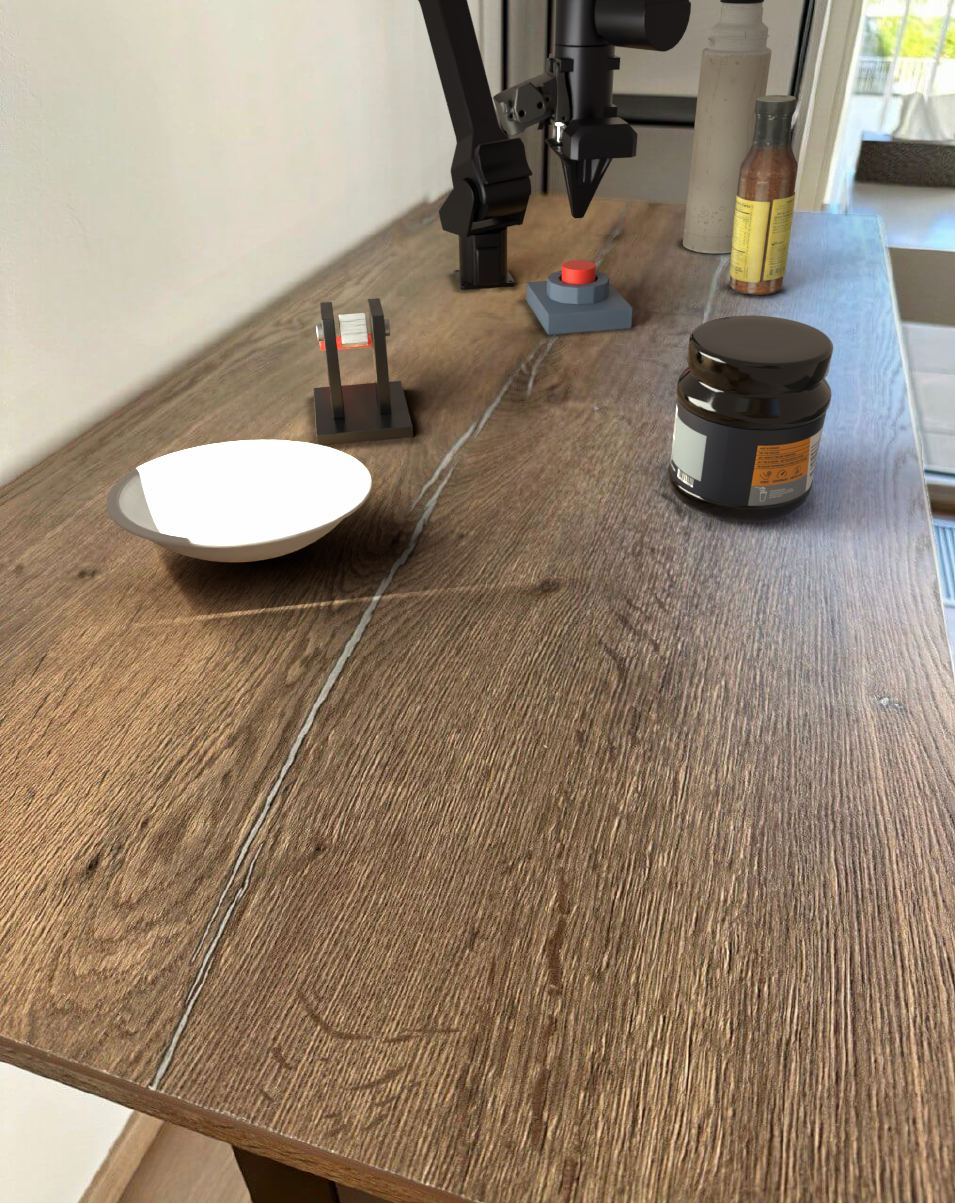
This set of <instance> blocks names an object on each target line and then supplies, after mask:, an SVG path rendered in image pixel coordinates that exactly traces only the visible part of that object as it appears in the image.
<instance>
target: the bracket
mask: <svg viewBox="0 0 955 1203" xmlns="http://www.w3.org/2000/svg"><path fill="white" fill-rule="evenodd" d="M381 302H382V301H381V299H380V297H379V298H368V299H367V307H368V319H369V329H370V330H369V331H370V334H371V342H372V347H371V353H372V364H373V375H374V382H369V383H367V382H366V383H358V384H357V383H356V384H355V383H354V384H345V385H342V378H341V369H340V360H339V351H338V350H337V341H336V336H337V332H336V324H335V316H334V307H333V302H332V301H324V302H320V303H319V306H320V307H319V309H320V319H321V323H316V324H315V327H316V328H315V329H316V336H317V337H316V338H317V342H319V343H320V341H324V346H325V351H324V352H325V361H326V371H327V380H328V386H320V387H313V404H314V418H315V435H316V444H317V445H321V446H333V445H342V444H344V445H345V444H354V443H364V442H377V441H387V440H398V439H399V440H400V439H409V438H414V428H413V423H412V419H411V415H410V411H409V407H408V403H407V398H406V396H405V392H404V387H403V384H402V380H393V381H392V380H391V381H390V376H389V362H388V349H387V337H391V327H390V320H389V318H385V314H384V311H383V306H382V303H381Z"/></svg>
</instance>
